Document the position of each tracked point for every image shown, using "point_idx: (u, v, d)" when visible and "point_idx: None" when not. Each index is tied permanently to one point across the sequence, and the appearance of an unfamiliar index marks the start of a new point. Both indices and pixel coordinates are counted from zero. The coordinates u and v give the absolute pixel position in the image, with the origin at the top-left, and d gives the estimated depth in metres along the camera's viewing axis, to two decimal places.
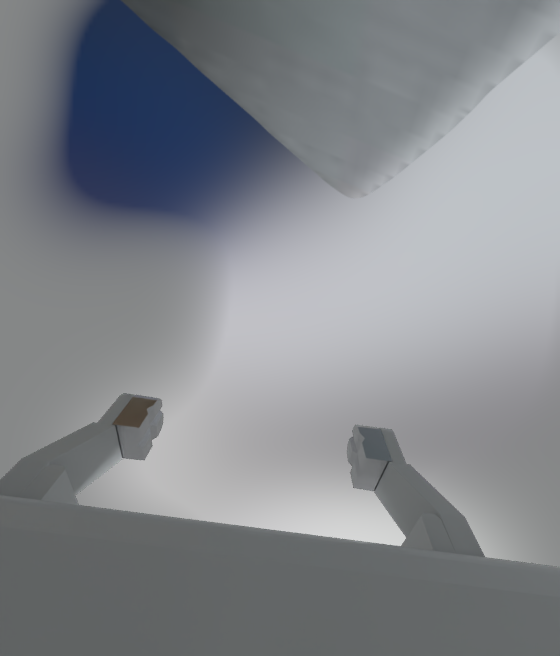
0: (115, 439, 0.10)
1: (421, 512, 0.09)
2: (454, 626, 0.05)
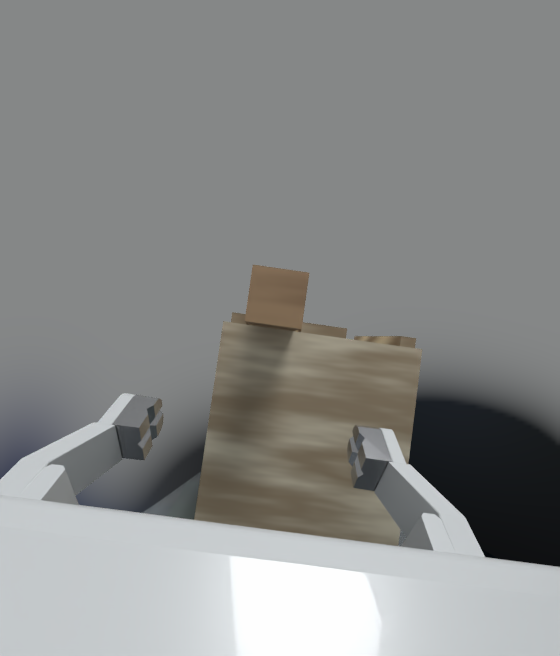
0: (115, 439, 0.10)
1: (421, 512, 0.09)
2: (454, 626, 0.05)
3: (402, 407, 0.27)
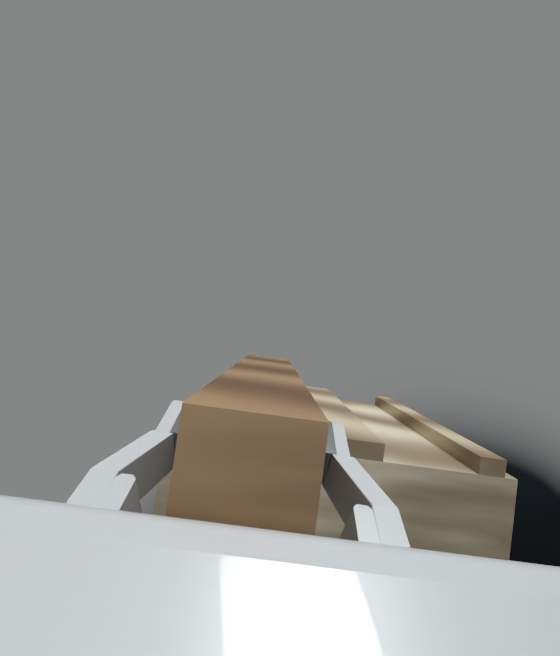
0: (172, 447, 0.10)
1: (358, 504, 0.09)
2: (454, 626, 0.05)
3: None
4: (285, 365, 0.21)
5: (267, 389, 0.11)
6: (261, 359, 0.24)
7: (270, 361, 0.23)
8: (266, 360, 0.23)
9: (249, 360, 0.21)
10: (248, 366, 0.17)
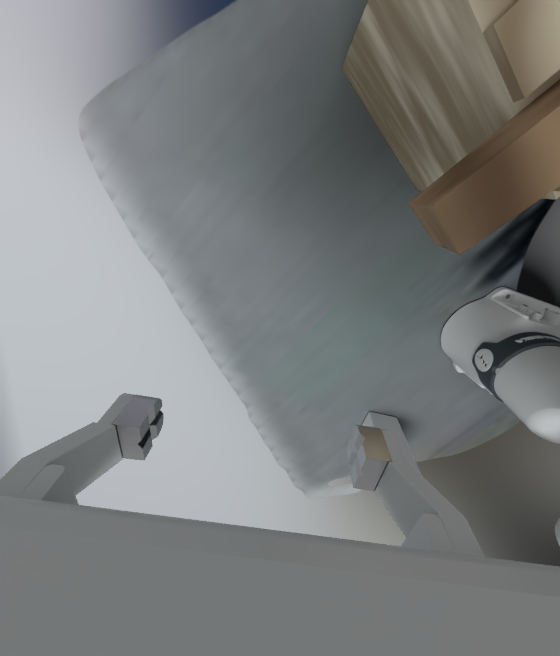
0: (115, 439, 0.10)
1: (421, 512, 0.09)
2: (454, 626, 0.05)
3: None
4: None
5: (500, 195, 0.17)
6: None
7: None
8: None
9: None
10: None
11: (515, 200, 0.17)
